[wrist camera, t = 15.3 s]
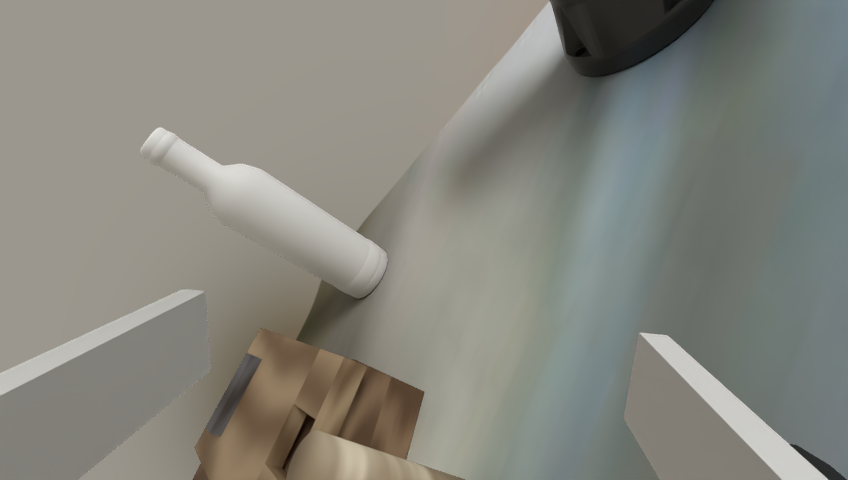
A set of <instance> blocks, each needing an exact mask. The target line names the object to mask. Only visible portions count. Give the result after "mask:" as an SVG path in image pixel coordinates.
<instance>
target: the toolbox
mask: <svg viewBox="0 0 848 480" xmlns="http://www.w3.org/2000/svg"><path fill="white" fill-rule="evenodd" d="M353 361H355V362H357V363H360V364H362V365H364V366H366V367H367V368H366V371H365V373H364V375H363V377H362V380H361V382H360V384H359V387H358V389H357V391H356V394H355V396H354V398H353V401H352V403H351V405H350V408H349V410H348V412H347V414H346V417H345V419H344V421H343V424H342V426H341V428H340V431H339V433H338V435H337V437H339V438H342V439H345V440H348V441H351V442H354V443H357V444H360V445H363V446H366V447H369V448H372V449H375V450H378V451H381V452H384V453H387V454H390V455H393V456H396V457H399V458H402V459H405V460H406V458H407V454H408V450H409V447H410V443H411V439H412V436H413V432H414V428H415V425H416V421H417V417H418V413H419V410H420V406H421V402H422V399H423V395H424V391H421V390H419V389H417V388H415V387H413V386H411V385H408V384H406V383H404V382H402V381H400V380H398V379H395V378H393V377H391V376H389V375H387V374H385V373H382V372H380V371H378V370H376V369H374V368H372V367H369V366H367V365H365V364H363V363H361V362H358V361H356V360H353ZM314 422H315V419H314V418H313V417H311V416H310V415H309V414H307V415H306V417H305V419H304V422H303V424H302V426H301V428H300V430H299V432H298V434H297V437H296V439H295V441H294V443H293V445H292V447H291V449H290V452H289V454H288V456H287V458H286V460H285V462H284V464H283V466H282V469H283V470H284V471H285V472H286V473H288V469H289V465H290V463H291V460H292V457H293V455H294V453H295V451H296V449H297V447H298V446H299V444H300V443H301V441H302V440H303V439H304V438H305V437H306V436H307V435H308V434H309V433H310V431H311V429H312V426H313V424H314ZM193 480H209V479H208V477H207V475H206V472H205V470H204V468H203V466H202V463H201V464H200V466H199V468H198V470H197V472H196V474H195V476H194V478H193Z"/></svg>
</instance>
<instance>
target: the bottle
mask: <svg viewBox="0 0 848 480" xmlns="http://www.w3.org/2000/svg"><path fill="white" fill-rule="evenodd" d="M140 154H141V156H143V157H144V158H146V159H148V160H149V161H150V163H152V164H153V165H157V166H160V167H161V168H163V169H165V170H167V171H168V172H170V173H172V174H174V175H175V176H177V177H179V178H181V179H182V180H184V181H185V182H187V183H189V184H191V185H192V186H194V187H196V188H198V189H199V190H201V191H203V192H204V194H205V198H206V201H207V205H208V208H209V210H210V211H211V213H212V214H213V215H214V216H215V217H216V218H217V219H218V220H219V221H220V222H221V223H222V224H223V225H225V226H227V227H229V228H230V229H232V230H234V231H236V232H238V233H240V234H241V235H243V236H245V237H247V238H248V239H250V240H252V241H254V242H256V243H258V244H259V245H261V246H263V247H265V248H266V249H268V250H270V251H272V252H274V253H275V254H277V255H279V256H281V257H283V258H284V259H286V260H288V261H290V262H292V263H293V264H295V265H297V266H299V267H301V268H303V269H304V270H306V271H308V272H310V273H311V274H313V275H315V276H317V277H319V278H320V279H322V280H324V281H326V282H328V283H329V284H331V285H333V286H335V287H336V288H337V289H339V290H340V291H342V292H344V293H346V294H349V295H351V296H353V297H355V298H358V299H359V298H362V297H365V296H367V295H368V294H369V293H371V292H372V291H373V290H374V288H375V287H376V286H377V285H378V284H379V282H380V280H381V279H382V277H383V275H384V273H385V270H386V267H387V262H388V259H387V253H386V252H385V251H384V250H383V249H381V248H380V247H378V245H376V244H375V243H374V242H372V241H370V240H369V239H366V238H365V237H363V236H362V235H360V234H359V233H357V232H355V231H354V230H352V229H351V228H349V227H348V226H346V225H345V224H343V223H342V222H340V221H339V220H337V219H336V218H334V217H333V216H331V215H330V214H328V213H327V212H325V211H323V210H322V209H321V208H319V207H318V206H316V205H314V204H313V203H311V202H310V201H308V200H307V199H305V198H304V197H302V196H301V195H299V194H298V193H296V192H295V191H293V190H292V189H290V188H289V187H287V186H286V185H284V184H282V183H281V182H280V181H278V180H277V179H275V178H273V177H272V176H271V175H269V174H267V173H266V172H264V171H263V170H261V169H259V168H256V167H253V166H249V165H245V164H234V165H227V166H222V165H220V164H219V163H217V162H216V161H214V160H212V159H211V158H209V157H208V156H206V155H205V154H203V153H201V152H200V151H198V150H197V149H195V148H193V147H192V146H190V145H188V144H187V143H185V142H184V141H182V140H181V139H179V138H178V137H177V135H176V134H174V133H171V132H168V131H166V130H165V129H163V128H157V129H156V130H155V131H154V132H153V133H152V134H151V135H150V136H149V138H148V139H147V140H146V141H145V143H144V144H143V146H142V148H141V150H140Z"/></svg>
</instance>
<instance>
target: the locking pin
mask: <svg viewBox="0 0 848 480" xmlns="http://www.w3.org/2000/svg"><path fill="white" fill-rule="evenodd" d="M286 480H465V479H462V478H459V477H456V476H453V475H450V474H447V473H444V472H441V471H438V470H435V469H432V468H429V467H426V466H423V465H420V464H417V463H414V462H411V461H408V460H405V459H402V458H399V457H396V456H393V455H390V454H387V453H384V452H381V451H378V450H375V449H372V448H369V447H366V446H363V445H360V444H357V443H354V442H351V441H348V440H345V439H342V438H339V437H336V436H333V435H330V434H327V433H324V432H321V431H318V430H315V431H312V432H310V433H309V434H308V435H307V436H306V437H305V438H304V439H303V440H302V441H301V443H300V444H299V446H298V447H297V449H296V451H295V453H294V455H293V457H292V460H291V463H290V465H289V469H288V473H287V477H286Z"/></svg>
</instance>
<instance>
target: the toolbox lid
mask: <svg viewBox="0 0 848 480" xmlns="http://www.w3.org/2000/svg"><path fill="white" fill-rule="evenodd" d="M366 368H367V367H366V366H364V365H362V364H360V363H357V362H355V361H353V360H351V359H348V358H345V357H342V356H339V355H337V354H334V353H331V352H328V351H325V350H322V349H319V348H317V347H314V346H311V345H308V344H305V343H302V342H299V341H297V340H294V339H291V338H288V337H285V336H282V335H280V334H277V333H274V332H271V331H268V330H265V329H262V328H261V329H260V331H259V332H258V334H257V336H256V338H255V339H254V341H253V343H252V345H251V346H250V348H249V350H248V352H247V353H246V355H245V357H244V359H243V361H242V363H241V364H240V366H239V368H238V370H237V372H236V374H235V375H234V377H233V379H232V381H231V383H230V384H229V386H228V388H227V390H226V392H225V393H224V395H223V397H222V399H221V401H220V403H219V404H218V406H217V408H216V410H215V411H214V413H213V415H212V417H211V419H210V421H209V423H208V424H207V426H206V428H205V430H204V432H203V433H202V435H201V437H200V439H199V441H198V443H197V444H196V446H195V450H196V452H197V454H198V457H199V459H200V461H201V463H202V466H203V468H204V470H205V472H206V475H207V477H208V479H209V480H286V477H287V473H286V472H285V471H284V470H283V469H282V466H283V464H284V462H285V460H286V458H287V456H288V454H289V452H290V449H291V447H292V445H293V443H294V441H295V439H296V437H297V434H298V432H299V430H300V428H301V426H302V424H303V422H304V419H305V417H306V415H307V414H309V415H310V416H311V417H313V418H314V419H315V422H314V424H313V426H312V429H311V431H310V432H312V431H315V430H318V431H321V432H324V433H327V434H330V435H333V436H336V437H337V435H338V433H339V431H340V428H341V426H342V424H343V421H344V419H345V417H346V414H347V412H348V410H349V408H350V405H351V403H352V401H353V398H354V396H355V394H356V391H357V389H358V387H359V384H360V382H361V380H362V377H363V375H364V373H365V371H366Z"/></svg>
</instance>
